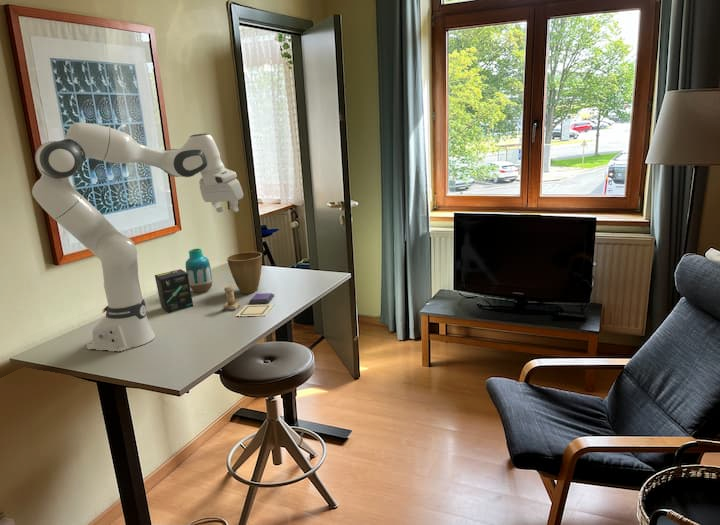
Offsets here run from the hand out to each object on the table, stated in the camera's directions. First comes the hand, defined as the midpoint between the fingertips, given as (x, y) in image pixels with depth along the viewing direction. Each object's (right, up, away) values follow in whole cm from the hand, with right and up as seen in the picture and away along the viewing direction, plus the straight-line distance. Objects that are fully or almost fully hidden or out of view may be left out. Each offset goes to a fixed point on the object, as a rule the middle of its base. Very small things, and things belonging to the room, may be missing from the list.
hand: (228, 211), depth 198 cm
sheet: (+9, -38, +7) cm, 40 cm away
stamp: (-2, -37, +12) cm, 40 cm away
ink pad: (+9, -35, +19) cm, 41 cm away
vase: (-21, -32, +38) cm, 54 cm away
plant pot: (+1, -32, +32) cm, 45 cm away
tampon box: (-26, -38, +19) cm, 50 cm away
